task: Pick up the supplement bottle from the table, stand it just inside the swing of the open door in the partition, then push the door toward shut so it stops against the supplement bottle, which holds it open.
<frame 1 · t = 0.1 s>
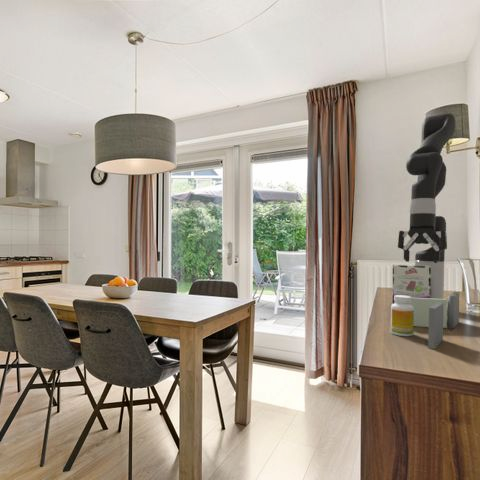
hand: (421, 262, 116), 17 cm above the table, tool pointing down, fingers open, 8 cm apart
door: (420, 312, 99), point 4 cm above the table, hinge at 60.0°
door frame: (450, 328, 98), on the table
supplement bottle: (401, 334, 91), on the table
candy bar box: (410, 315, 114), on the table
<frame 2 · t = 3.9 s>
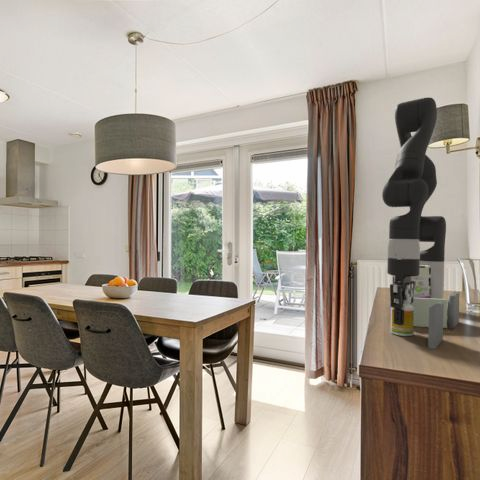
hand: (402, 322, 91), 3 cm above the table, tool pointing down, fingers closed on supplement bottle, 5 cm apart
supplement bottle: (401, 334, 91), on the table, touching gripper
everything else where it was.
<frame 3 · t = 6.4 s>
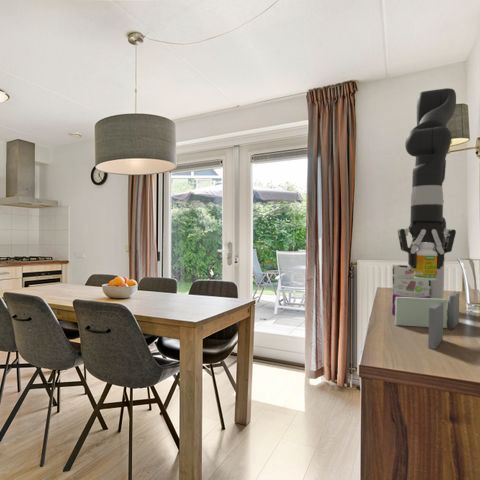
hand: (425, 268, 93), 17 cm above the table, tool pointing down, fingers closed on supplement bottle, 5 cm apart
supplement bottle: (425, 280, 93), point 14 cm above the table, touching gripper
everything else where it was.
when the fingers open (4 cm above the table, at t = 9.1 s): supplement bottle drops 1 cm, on the table.
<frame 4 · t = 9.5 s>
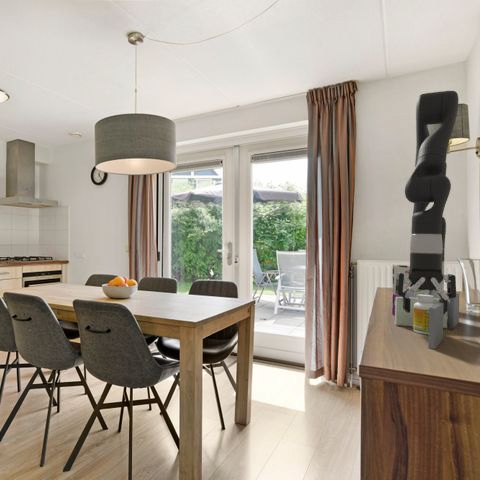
hand: (424, 312, 93), 5 cm above the table, tool pointing down, fingers open, 8 cm apart
supplement bottle: (424, 333, 93), on the table
everything else where it was.
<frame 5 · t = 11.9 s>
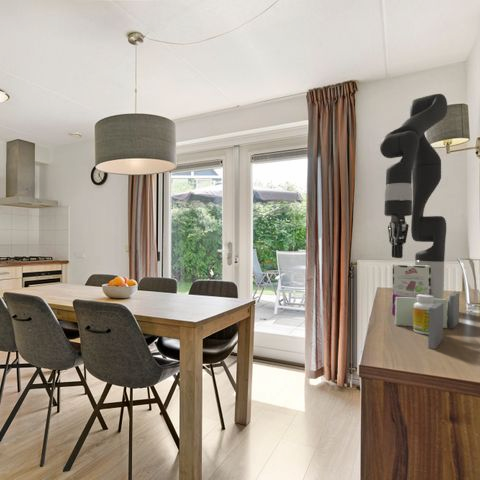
hand: (396, 257, 105), 19 cm above the table, tool pointing down, fingers closed
nothing on the table moved.
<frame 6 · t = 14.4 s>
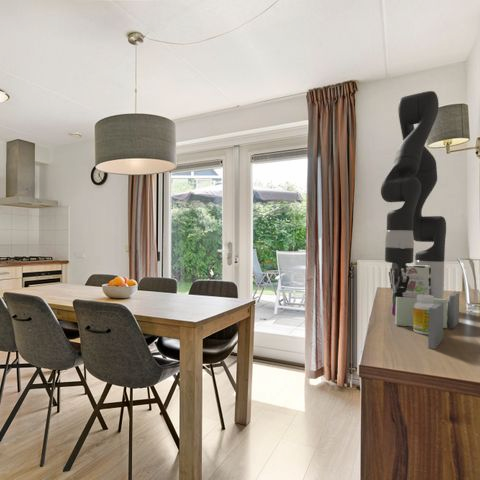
hand: (397, 305, 102), 5 cm above the table, tool pointing down, fingers closed
door: (420, 312, 99), point 4 cm above the table, hinge at 59.2°, touching gripper
everything else where it was.
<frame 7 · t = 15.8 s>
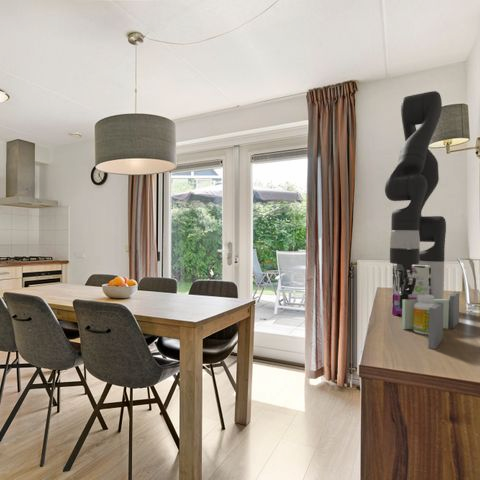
hand: (403, 308, 98), 5 cm above the table, tool pointing down, fingers closed
door: (425, 313, 96), point 4 cm above the table, hinge at 41.3°, touching supplement bottle, gripper
supplement bottle: (424, 333, 93), on the table, touching door
everything else where it was.
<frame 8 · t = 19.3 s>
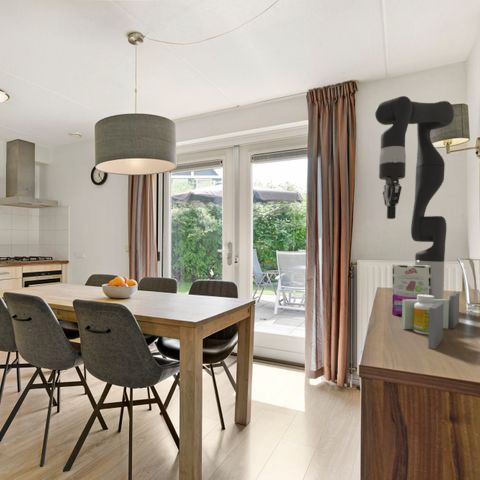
hand: (391, 218, 110), 31 cm above the table, tool pointing down, fingers closed
door: (425, 313, 96), point 4 cm above the table, hinge at 41.1°, touching supplement bottle
everything else where it was.
at the end: supplement bottle 0.1 cm from the target spot, on the table; supplement bottle tilted 0°; door at +41° (first picture: +60°) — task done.
